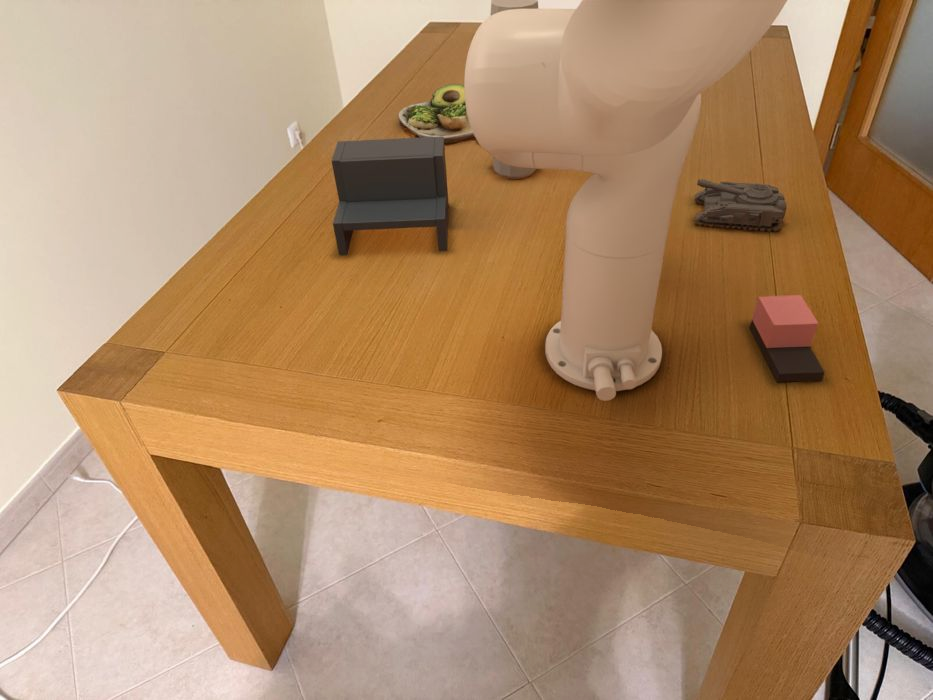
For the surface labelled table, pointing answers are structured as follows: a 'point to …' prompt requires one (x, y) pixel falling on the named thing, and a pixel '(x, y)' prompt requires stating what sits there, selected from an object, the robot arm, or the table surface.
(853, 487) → the table surface
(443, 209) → the bench
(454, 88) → the salad plate
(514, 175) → the water bottle
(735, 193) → the tank toy
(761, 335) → the pink cube on slab
